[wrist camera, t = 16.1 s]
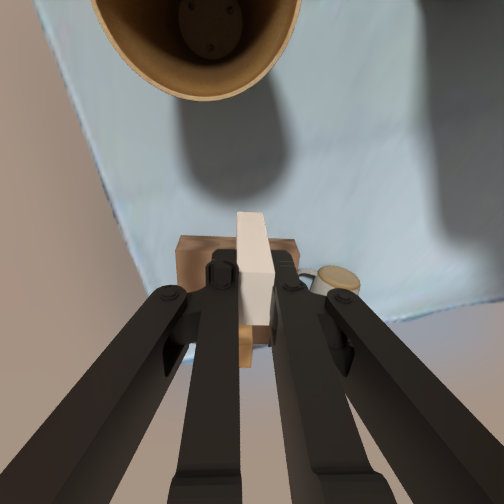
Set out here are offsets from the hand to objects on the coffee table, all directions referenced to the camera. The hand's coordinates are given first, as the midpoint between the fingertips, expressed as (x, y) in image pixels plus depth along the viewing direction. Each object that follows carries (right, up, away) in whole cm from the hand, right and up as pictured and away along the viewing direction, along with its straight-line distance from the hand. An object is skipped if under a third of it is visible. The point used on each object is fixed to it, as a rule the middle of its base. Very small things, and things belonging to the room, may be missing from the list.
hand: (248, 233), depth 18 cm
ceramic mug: (+12, -6, +35) cm, 37 cm away
